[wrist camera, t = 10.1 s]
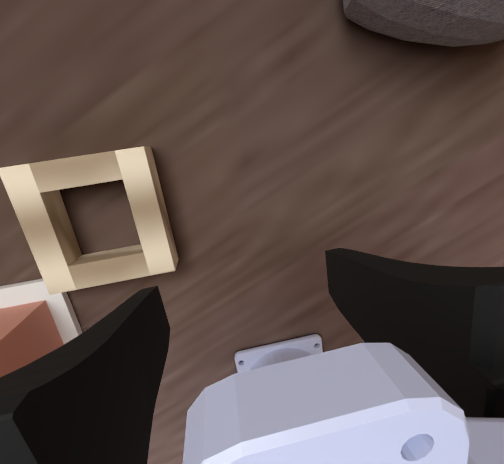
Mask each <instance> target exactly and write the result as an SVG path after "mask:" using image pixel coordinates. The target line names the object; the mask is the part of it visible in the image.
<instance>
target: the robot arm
mask: <svg viewBox="0 0 504 464" xmlns="http://www.w3.org/2000/svg"><path fill="white" fill-rule="evenodd" d="M325 253H326V265H327V276H328V288H329V294H330V295H331V297H332V299H333V301H334V302H335V304H336V306H337V307H338V309H339V310H340V312H341V313H342V314H343V316H344V317H345V318H346V319H347V321H348V322H349V323H350V324H351V326H352V327H353V328H354V329H355V330H356V332H357V333H358V334H359V335H360V336H361V338H362V339H363V340H364V341H365V343H360V344H356V345H352V346H347V347H343V348H339V349H335V350H331V351H327V352H323V349H322V339H321V337H320V336H319V335H318V334H313V335H309V336H305V337H300V338H296V339H291V340H287V341H282V342H278V343H273V344H269V345H264V346H260V347H255V348H251V349H247V350H242V351H238V352H237V353H235V363H236V367H237V372H238V373H236V374H233V375H231V376H229V377H227V378H225V379H223V380H221V381H218V382H216V383H214V384H212V385H210V386H208V387H206V388H205V389H204V390H203V391H202V393H201V394H200V395H199V396H198V398H197V399H196V400H195V402H194V403H193V404H192V405H191V407H190V408H189V409H188V411H187V422H186V433H185V444H184V455H183V464H504V267H451V266H436V265H427V264H418V263H411V262H405V261H399V260H394V259H389V258H384V257H380V256H375V255H371V254H367V253H363V252H358V251H354V250H349V249H344V248H337V249H332V250H327V251H325ZM169 336H170V326H169V323H168V319H167V316H166V312H165V309H164V306H163V302H162V299H161V296H160V292H159V289H158V286H155V287H150V288H146V289H142V290H140V291H138V292H137V293H136V294H134V295H133V296H131V297H130V298H129V299H128V300H126V301H125V302H124V303H122V304H121V305H120V306H119V307H117V308H116V309H115V310H114V311H112V312H111V313H110V314H108V315H107V316H106V317H104V318H103V319H101V320H100V321H99V322H97V323H96V324H95V325H93V326H92V327H90V328H89V329H88V330H86V331H85V332H83V333H82V334H80V335H79V336H77V337H76V338H74V339H72V340H71V341H69V342H67V343H66V344H64V345H62V346H61V347H59V348H57V349H56V350H54V351H52V352H50V353H48V354H46V355H44V356H42V357H41V358H39V359H37V360H35V361H33V362H31V363H29V364H27V365H26V366H23V367H21V368H19V369H17V370H15V371H13V372H11V373H9V374H7V375H5V376H2V377H0V464H147V459H148V450H149V442H150V434H151V427H152V419H153V413H154V408H155V403H156V398H157V394H158V390H159V386H160V382H161V378H162V374H163V370H164V366H165V361H166V357H167V353H168V347H169ZM316 343H318V344H317V345H315V344H316ZM239 361H243V362H239Z"/></svg>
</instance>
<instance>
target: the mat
mask: <svg viewBox="0 0 504 464" xmlns="http://www.w3.org/2000/svg"><path fill="white" fill-rule="evenodd" d="M43 300H46V303H47V305H48V307H49V310H50V312H51V315H52V317H53V319H54V322H55V324H56V327H57V329H58V331H59V334H60V336H61V339H62V341H63V343H64V344H66V343H67V342H69V341H71V340H72V339H74V338H76V337H77V336H79V335H80V334H82V333H83V332H82V330H81V327H80V325H79V322H78V320H77V317H76V315H75V312H74V310H73V307H72V304H71V302H70V299H69V297H68V294H67V292H62V293H57V294H52V295H50V294H49V292H48V290H47V287H46V285H45V282H44V280H43V279H37V280H32V281H27V282H21V283H16V284H11V285H5V286H0V309H1V308H6V307H12V306H17V305H22V304H27V303H33V302H38V301H43Z"/></svg>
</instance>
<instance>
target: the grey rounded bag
mask: <svg viewBox="0 0 504 464" xmlns="http://www.w3.org/2000/svg"><path fill="white" fill-rule="evenodd" d="M343 7H344V13H345V17H346V18H348V19H349V20H351V21H353V22H355V23H356V24H358V25H360V26H362V27H364V28H365V29H367V30H370V31H374V32H377V33H380V34H384V35H387V36H390V37H393V38H397V39H400V40H404V41H412V42H419V43H427V44H434V45H442V46H452V47H457V46H469V45H481V44H489V43H493V42H497V41H501V40H504V0H343Z"/></svg>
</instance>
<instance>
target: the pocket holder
mask: <svg viewBox="0 0 504 464" xmlns="http://www.w3.org/2000/svg"><path fill="white" fill-rule="evenodd" d="M0 176H1V179H2V181H3V183H4V186H5V188H6V191H7V193H8V195H9V198H10V200H11V203H12V205H13V208H14V210H15V212H16V215H17V217H18V220H19V222H20V224H21V227H22V229H23V232H24V234H25V236H26V239H27V241H28V244H29V246H30V249H31V251H32V253H33V256H34V258H35V261H36V263H37V265H38V268H39V270H40V273H41V275H42V278H43V280H44V282H45V285H46V287H47V290H48V292H49V294H50V295H52V294H57V293H62V292H67V291H72V290H77V289H83V288H88V287H93V286H98V285H103V284H109V283H114V282H119V281H124V280H129V279H135V278H140V277H145V276H150V275H155V274H160V273H166V272H171V271H175V270H176V266H177V263H178V260H179V258H178V254H177V250H176V246H175V242H174V238H173V234H172V230H171V226H170V222H169V218H168V214H167V210H166V206H165V202H164V198H163V193H162V189H161V185H160V181H159V177H158V173H157V169H156V165H155V161H154V157H153V153H152V149H151V147H145V146H143V147H137V148H130V149H123V150H117V151H110V152H103V153H97V154H90V155H83V156H77V157H70V158H63V159H57V160H50V161H43V162H37V163H30V164H24V165H17V166H10V167H4V168H0ZM122 179H123V182H124V185H125V189H126V192H127V196H128V199H129V203H130V206H131V210H132V213H133V217H134V220H135V224H136V227H137V231H138V234H139V238H140V242H141V244H139V245H134V246H128V247H123V248H117V249H112V250H106V251H101V252H95V253H90V254H84V255H82V253H81V250H80V247H79V245H78V242H77V239H76V236H75V233H74V231H73V228H72V225H71V222H70V219H69V217H68V214H67V211H66V208H65V205H64V203H63V200H62V197H61V194H60V191H59V190H60V189H66V188H72V187H78V186H85V185H91V184H97V183H103V182H110V181H116V180H122Z"/></svg>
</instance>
